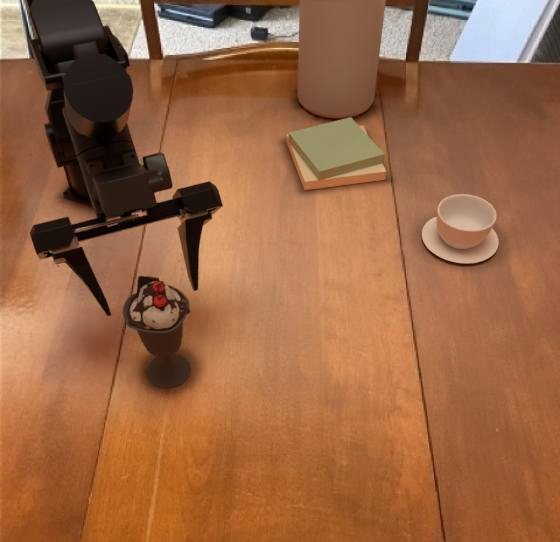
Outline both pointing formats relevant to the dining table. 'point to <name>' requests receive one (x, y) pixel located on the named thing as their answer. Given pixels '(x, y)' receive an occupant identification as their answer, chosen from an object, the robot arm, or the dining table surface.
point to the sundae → (160, 328)
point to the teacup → (462, 229)
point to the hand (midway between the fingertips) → (153, 302)
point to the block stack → (335, 155)
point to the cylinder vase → (339, 55)
